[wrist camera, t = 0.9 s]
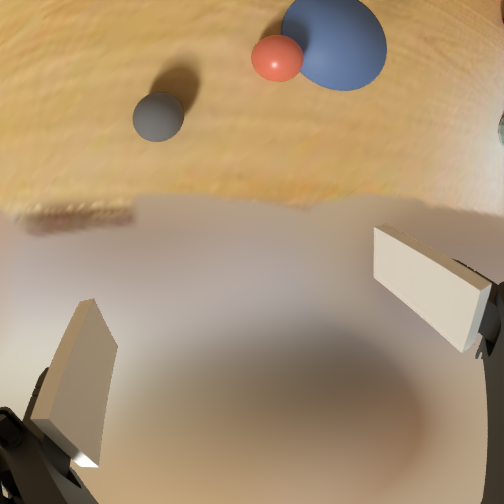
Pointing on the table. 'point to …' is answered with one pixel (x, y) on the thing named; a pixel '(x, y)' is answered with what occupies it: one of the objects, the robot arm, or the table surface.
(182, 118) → the grey ball
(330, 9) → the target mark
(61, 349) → the robot arm
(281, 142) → the table surface
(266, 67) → the red ball
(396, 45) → the table surface
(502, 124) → the disposable coffee cup
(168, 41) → the table surface
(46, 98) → the table surface
